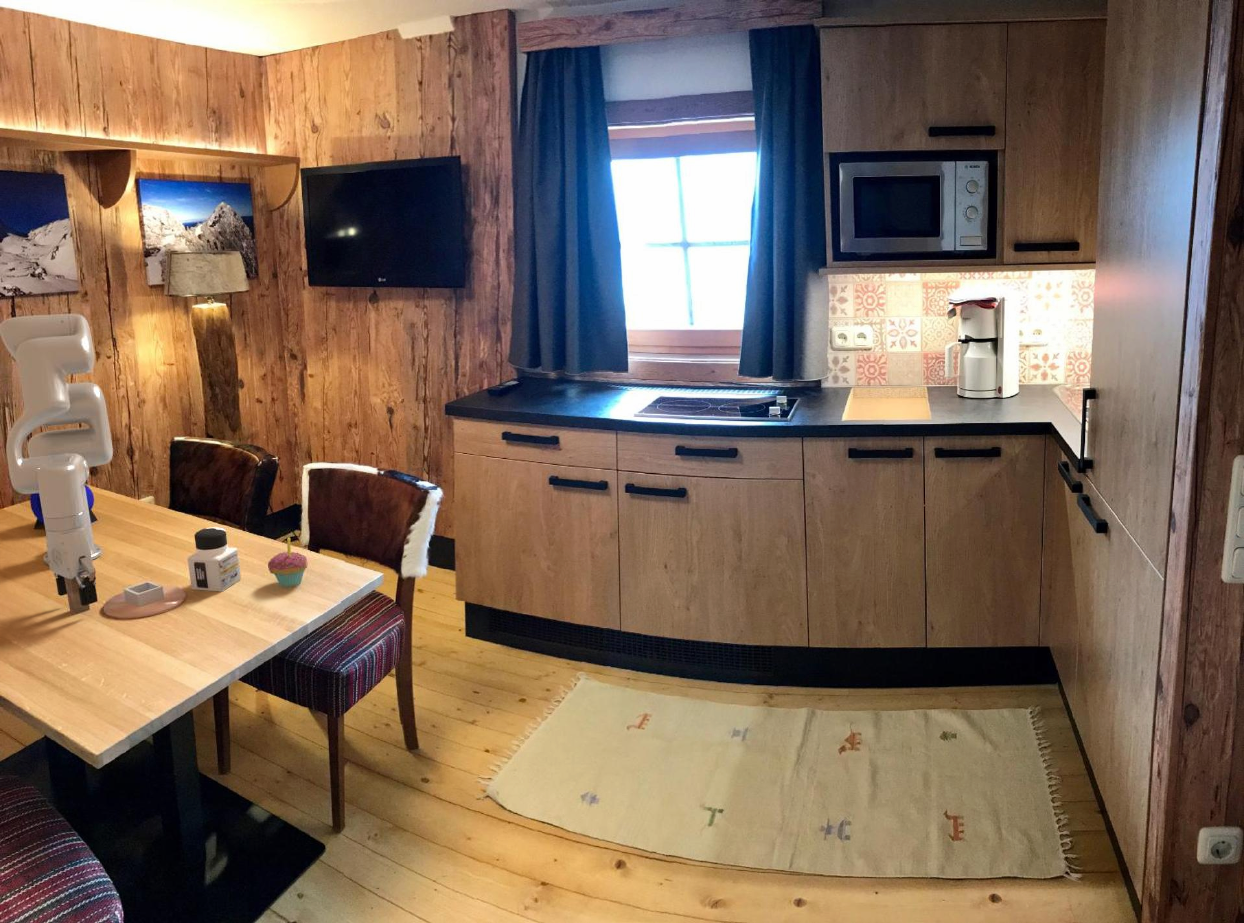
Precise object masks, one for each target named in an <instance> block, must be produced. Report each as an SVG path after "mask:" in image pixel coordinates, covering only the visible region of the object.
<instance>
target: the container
mask: <svg viewBox="0 0 1244 923" xmlns="http://www.w3.org/2000/svg"><path fill="white" fill-rule="evenodd" d="M227 537H228V536H227V531H226V530H225V529H224V528H222V527H218V526H212V527H205V528H202V529H200V530H198V531H197V532H195V534H194V541H195V542H194V544H195V551H196V552H195V553H193V554H191V555H190V556H188V557H187V564H188V571H189V581H190V587H191V589H192V590H196V591H205V592H206V591H209V592H218V593H219V592H220V593H221V592H224V591H225V590H227V589H228V588H229V587H231V586H232V585H234V584H236V583H237V582H238V581H241V578H242V576H241V569H240V561H239V560H240V559H239V550H238V548H237V547H229V544H228V538H227Z"/></svg>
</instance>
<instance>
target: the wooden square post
mask: <svg viewBox="0 0 1244 923" xmlns="http://www.w3.org/2000/svg"><path fill="white" fill-rule="evenodd" d="M81 572H84V571H81ZM81 572H78V573H81ZM85 577H86V576H83V577H81V578H82V580H83V581H84V578H85ZM64 578H65V584H66V590H67V594H66V595H67V600H68V606H69V611H70V612H71V613H73V614H75V613H76V614H75V615H78V614H81V613H85V612H87V611H90V610H91V609H90V604H89V605H86V606H82V605H81V602H80V596H79V590H78V588H80V585H79V583H78V581H77V580H76V578H75V577H74V578H73V579H68V578H66V577H64Z"/></svg>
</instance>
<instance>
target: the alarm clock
mask: <svg viewBox="0 0 1244 923" xmlns="http://www.w3.org/2000/svg"><path fill="white" fill-rule="evenodd" d="M84 486H85V490H86V496H87V503H88V509H89V515H90V522H91V524H93V523H96V522H97V521H98V518H97V516H96V515H95V514H94V512H93V511H92V509H93V507H94V504H95V497H94V493H93V490H92V489H91V488H90V486H88V485H87V484H85V483H84ZM29 503H30V509H31V511H32V513H33V515H34V517H35V518H36V521H35V524H34V527H33V530H35V529H38V528H40V527H42V526H45V525H44V519H43V513H42V507H41V501H40V495H39V493H34V494H30V499H29Z"/></svg>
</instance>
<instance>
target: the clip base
mask: <svg viewBox="0 0 1244 923" xmlns="http://www.w3.org/2000/svg"><path fill="white" fill-rule="evenodd" d="M185 600H186V591H185V590H184V589H183V588H180V587H177V586H174V585H173V586H172V585H160V584H158V583H156V582H153V581H150V580H147V581H144V582H141V583H137V584H134V585H131V586H129V587H128V586H127V587H126V588H123V592H121V593H118V594H116V595H114V596H112V597H110V598H109V599H108V600H106V601H105V603H104V604H103V612H104V614H105V613H106V614H105V615H106V616H108V617H110V618H115V619H122V620H123V619H124V620H125V619H127V620H128V619H130V620H131V619H141V618H148V617H152V616H157V615H160V614H163V613H166V612H169V611H171V610H173V609H176V608H178V607H179V606H181V605H182V604H183V603H184V602H185Z"/></svg>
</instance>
